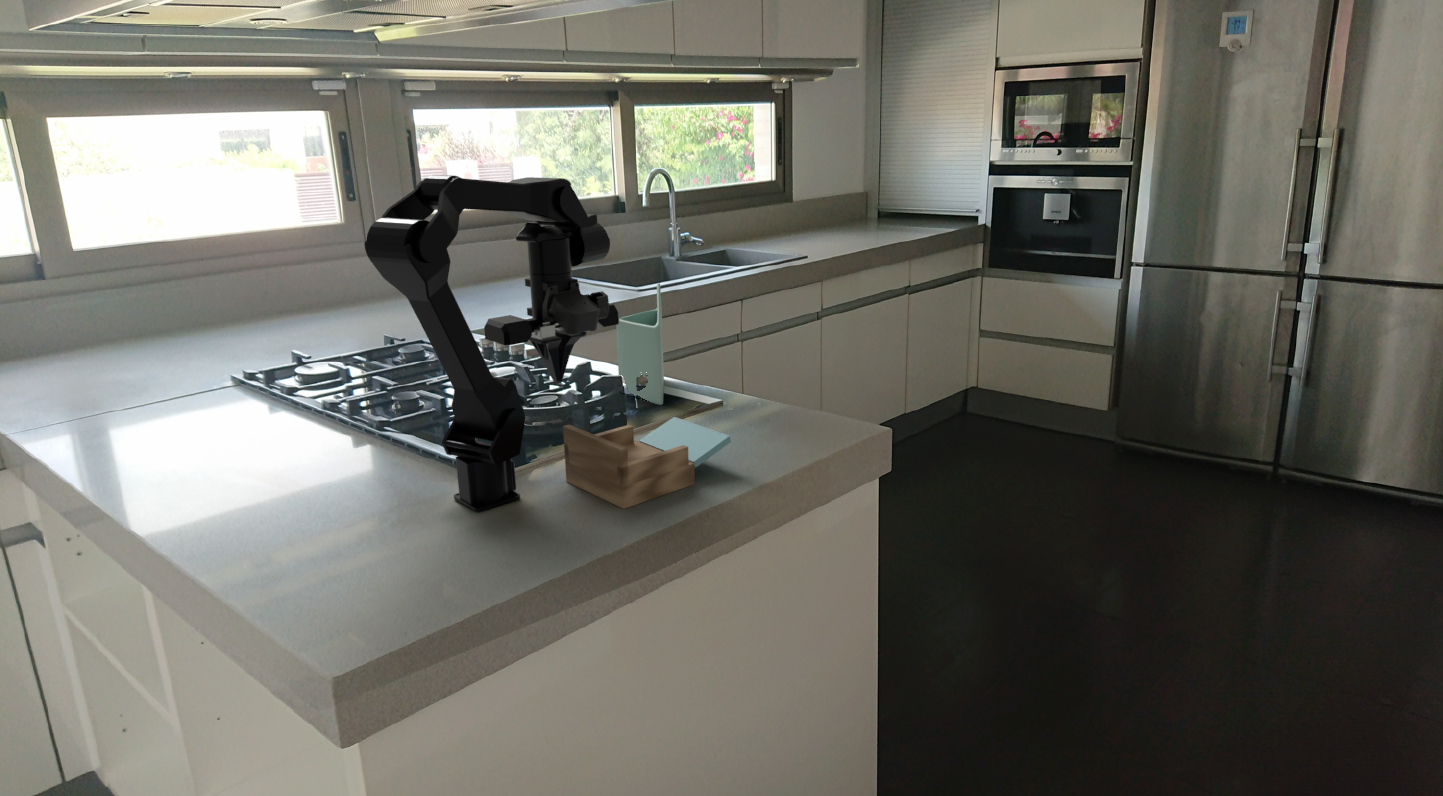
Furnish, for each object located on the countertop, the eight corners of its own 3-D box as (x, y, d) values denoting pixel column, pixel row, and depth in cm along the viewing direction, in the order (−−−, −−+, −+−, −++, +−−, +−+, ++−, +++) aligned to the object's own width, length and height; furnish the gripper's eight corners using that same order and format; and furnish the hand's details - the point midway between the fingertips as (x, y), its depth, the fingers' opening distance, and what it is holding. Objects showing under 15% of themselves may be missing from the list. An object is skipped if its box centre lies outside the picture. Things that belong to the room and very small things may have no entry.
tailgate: (693, 461, 129) (729, 435, 132) (639, 440, 137) (674, 416, 141) (696, 472, 129) (732, 446, 133) (642, 450, 138) (677, 426, 142)
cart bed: (623, 508, 121) (620, 449, 119) (566, 481, 130) (562, 426, 128) (694, 484, 129) (693, 428, 127) (636, 459, 138) (633, 407, 136)
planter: (621, 380, 179) (617, 275, 173) (663, 379, 179) (660, 275, 174) (616, 406, 163) (611, 292, 158) (663, 405, 164) (659, 291, 158)
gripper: (522, 288, 118) (530, 407, 123) (640, 270, 130) (645, 379, 135) (477, 277, 126) (487, 390, 131) (593, 261, 138) (599, 365, 143)
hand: (557, 381), depth 134 cm, fingers closed
